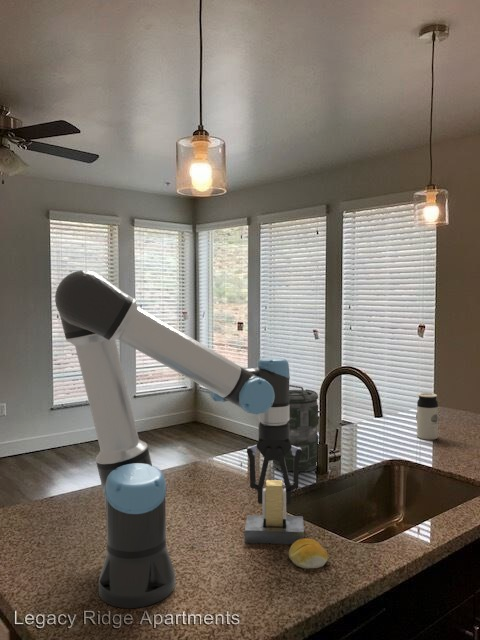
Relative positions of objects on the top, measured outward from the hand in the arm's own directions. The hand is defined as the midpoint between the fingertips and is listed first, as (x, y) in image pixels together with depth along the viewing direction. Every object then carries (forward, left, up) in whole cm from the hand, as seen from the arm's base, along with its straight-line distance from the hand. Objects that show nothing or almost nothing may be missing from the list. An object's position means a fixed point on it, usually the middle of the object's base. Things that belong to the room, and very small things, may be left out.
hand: (274, 516), depth 130 cm
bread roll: (-11, -8, -5) cm, 15 cm away
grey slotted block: (0, 0, -5) cm, 5 cm away
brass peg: (0, 0, -4) cm, 4 cm away
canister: (+55, -6, -5) cm, 55 cm away
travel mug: (+96, -61, -5) cm, 113 cm away
